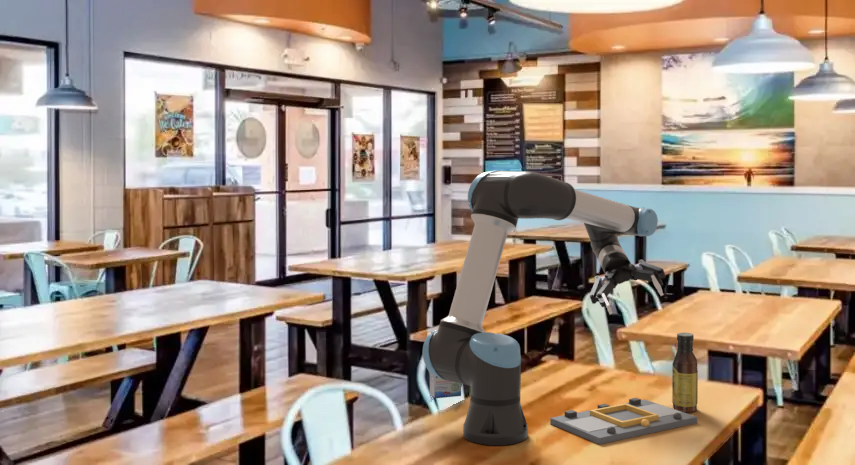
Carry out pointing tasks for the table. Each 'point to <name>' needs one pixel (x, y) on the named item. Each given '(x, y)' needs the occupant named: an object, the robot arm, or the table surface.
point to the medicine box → (443, 387)
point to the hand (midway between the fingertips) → (635, 300)
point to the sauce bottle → (685, 375)
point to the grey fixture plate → (622, 420)
